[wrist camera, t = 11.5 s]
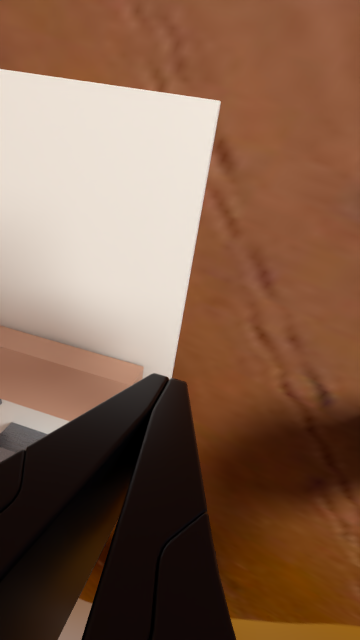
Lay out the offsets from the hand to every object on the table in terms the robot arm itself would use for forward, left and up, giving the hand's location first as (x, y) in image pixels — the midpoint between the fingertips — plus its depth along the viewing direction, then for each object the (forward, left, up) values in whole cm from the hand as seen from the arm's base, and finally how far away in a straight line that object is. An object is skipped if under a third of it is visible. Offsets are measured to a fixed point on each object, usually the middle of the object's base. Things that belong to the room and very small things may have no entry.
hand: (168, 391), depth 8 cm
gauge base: (+11, +8, -12) cm, 18 cm away
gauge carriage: (+11, +11, -11) cm, 20 cm away
